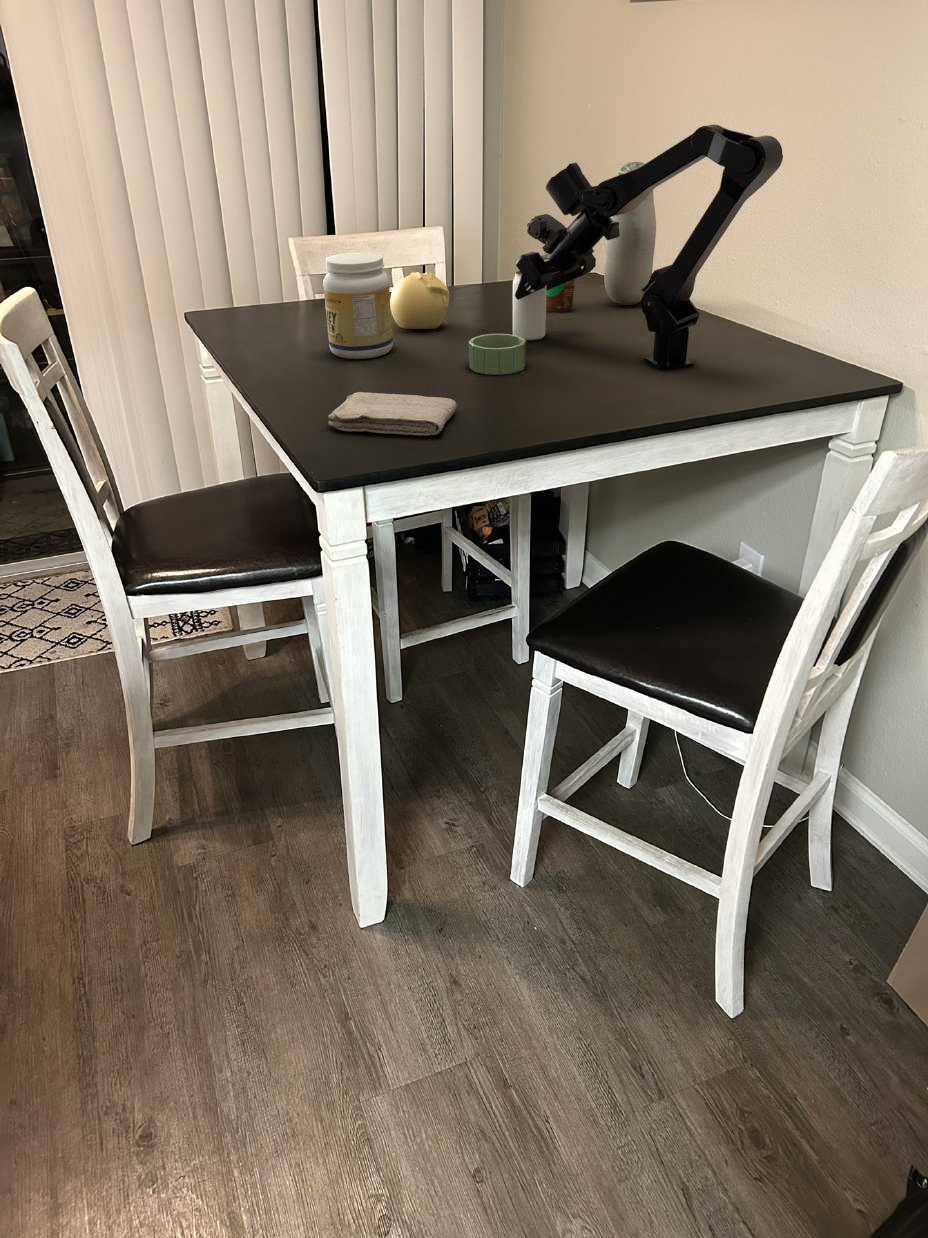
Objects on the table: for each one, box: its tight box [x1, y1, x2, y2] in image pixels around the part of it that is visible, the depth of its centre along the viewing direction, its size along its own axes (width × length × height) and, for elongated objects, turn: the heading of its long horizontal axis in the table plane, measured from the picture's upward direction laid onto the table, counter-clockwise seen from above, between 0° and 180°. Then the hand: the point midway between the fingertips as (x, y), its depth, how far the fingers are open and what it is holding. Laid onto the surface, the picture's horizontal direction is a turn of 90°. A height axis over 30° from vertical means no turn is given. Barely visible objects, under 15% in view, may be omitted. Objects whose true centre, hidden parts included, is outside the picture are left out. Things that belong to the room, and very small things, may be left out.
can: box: [512, 270, 547, 342], centre depth 177 cm, size 6×6×12 cm
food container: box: [540, 253, 576, 313], centre depth 197 cm, size 12×6×10 cm, turn 25°
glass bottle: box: [603, 161, 657, 306], centre depth 194 cm, size 10×10×28 cm
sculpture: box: [390, 271, 450, 330], centre depth 186 cm, size 12×12×11 cm
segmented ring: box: [468, 333, 527, 376], centre depth 163 cm, size 10×10×4 cm
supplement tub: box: [322, 251, 394, 360], centre depth 170 cm, size 12×12×17 cm
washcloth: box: [327, 391, 458, 437], centre depth 140 cm, size 12×18×3 cm, turn 77°
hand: (531, 292), depth 176 cm, fingers open, 9 cm apart
